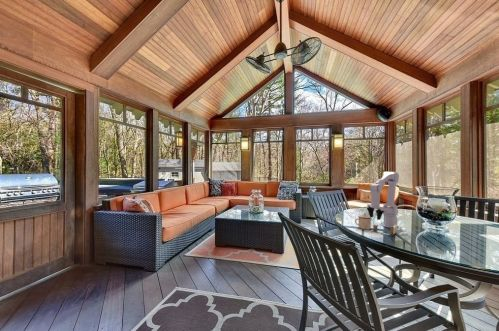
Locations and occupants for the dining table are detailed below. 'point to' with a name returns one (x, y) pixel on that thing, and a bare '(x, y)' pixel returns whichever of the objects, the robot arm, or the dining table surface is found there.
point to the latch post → (375, 228)
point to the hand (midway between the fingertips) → (374, 218)
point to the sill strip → (383, 233)
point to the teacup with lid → (364, 221)
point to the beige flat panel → (395, 229)
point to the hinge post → (391, 230)
